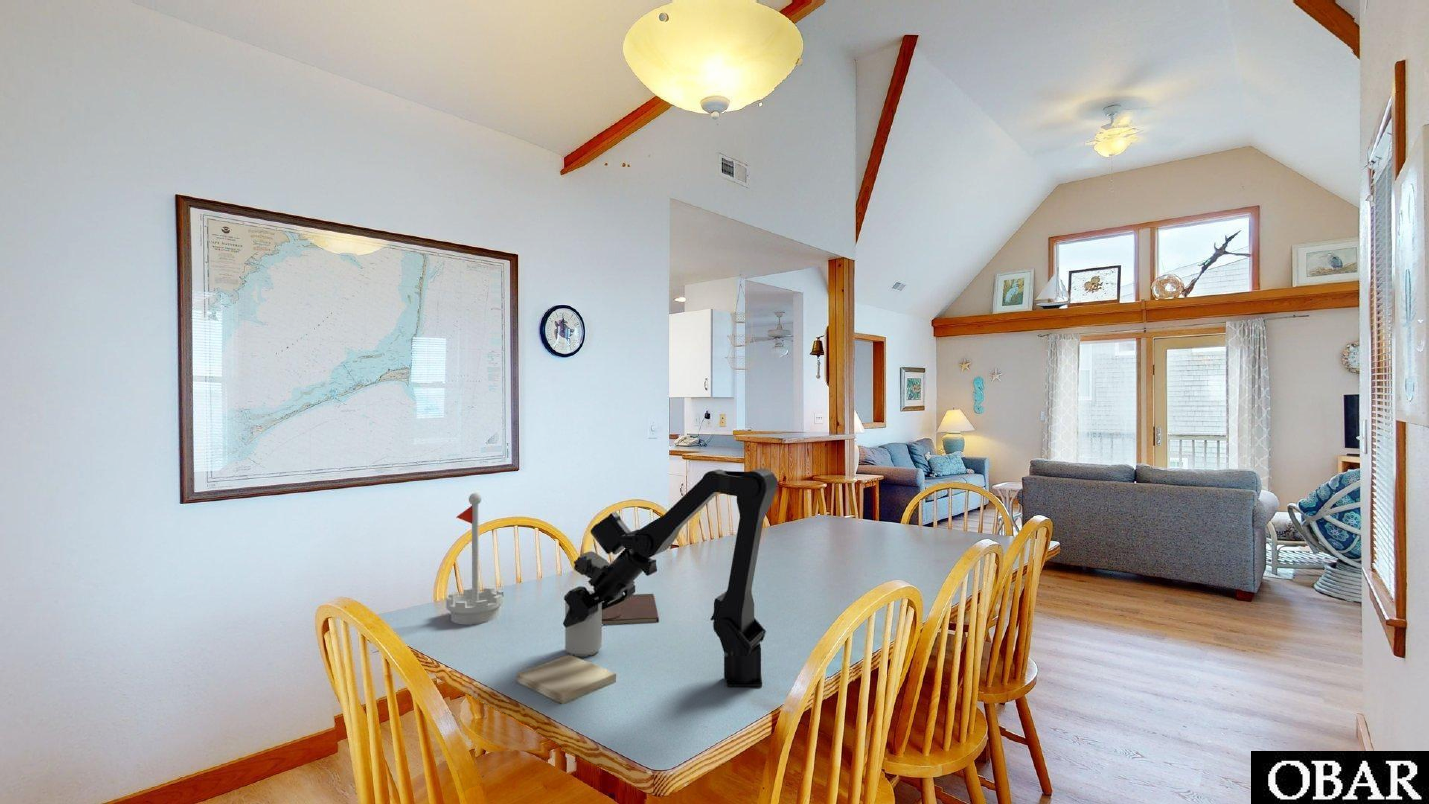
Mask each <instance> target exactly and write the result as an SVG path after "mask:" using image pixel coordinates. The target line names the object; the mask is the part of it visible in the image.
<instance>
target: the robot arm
mask: <svg viewBox="0 0 1429 804" xmlns="http://www.w3.org/2000/svg"><path fill="white" fill-rule="evenodd" d="M778 486H779V482H778V478H777V476H776V475H775V473H773V471H772V470H769V469H767V468H763V467H760V468H756V469H754V470H750V471H749V470H748V471H739V470H738V471H735V470H733V471H732V470H723V469H715V470H710V471H709V470H708V471H707V472H705V473H704V475H702V477H701V479H700V480H699V481H698V482H697V483H696V484H694V485H693V487H691V488H690V490H688V491H687V493H685V494H684V495H683V496H682V497H680V499H679V500H678V501H677V502H675V504H673V506H672V507H670V508H669V510H668V511H666V512H665V513H664V514H662V515H661V516H660V517H658V518H656V519H654V520H652V521H651V522H649V523H647V524H646V525H644V526H643V527H642V528H640V529H639V528H638V529H636V530H633V531H631V530H630V528H629V527H628V526H627V525H626V523H625V522H624V521H623V520H622V518H621V515H619V514H618V512H616V511H615V512H612V513H609V515H607V516H606V517H605V518H603V519H602V520H600V521H599V522H598V523H595V524H594V525H593V527H592V528H591V529H590V532H589V533H590V535H591V536H592V537H593V538H594V539H595V540H596V542H597V544H598V545H599V546H600V547H601V549H602V550H603V551H604V552H605V554H606V555H609V554H611V553H612V554H613V555H617V554H618V556H617V557H616V558H615V559H614V560H613V561H612V562H611V563H610V562H608V560H607V559H605V558H603V556H601V555H599V554H597V552H595V551H592V550H591V551H587V552H584V553H581V554H580V555H579V556H578V557H577V559H576V560H574V561H573V564H574V566H573V569H574V571H575V572H577V573H579V574H580V575H582V576H585V577H587V578H589V580H588V581H587V582H588V584H589V585H590V587H593V590H592V591H594V592H595V593H592V594H590V593H589V592H588V591H589V590H588V588H586V587H585V586H581V585H580V586H577V587H574V588H573V589H569V591H568V592H567V593H566V594H565V595H564V596H563V600H564V602H566V603H567V604H568V605H569V610H568V612H567V615H566V617H565V616H564V619H563V622H562V624H563V627H564V628H565V627H569V626H572V625H575V624H577V623H580V622H584V621H586V620H588V619H590V618H592V616H593V615H595V614H596V613H597V612H598V604H600V603H602V610H604V609H606V608H609V607H611V606H613V605H616V604H618V603H620V602H622V601H624V600H626V599H627V598H629V597H631V596H632V595H633V594H636V585H635V580H636V579H637V578H638V577H639V576H640V575H641V574H642V573H644V574H645V576H647V577H649V576H651V575H653V574H656V573H657V572H658V566H657V560H656V559H653V558H651V557H654V556H657V555H659V554H661V553H663V552H664V553H665V551H667V550H668V549H669V548H670V547H671V546H672V545H673V543H674V542H675V540H676V539H677V537H678V536H679V533H680V532H681V530H682V528H683V527H684V526H685V525H686V524H687V523H688V522H689V521H690V520H691V519H692V518H693V517H694V516H695V515H696V514H698V513H699V512H700V511H701V510H702V509H703V508H704V507H705V506H706V505H708V504H709V502H711V500H713V498H715V496H717V495H718V494H723V495H726V496H727V495H728V496H732V497H733V496H734V497H736V504H737V509H738V513H739V520H738V525H737V526H738V527H737V531H736V538H735V542H734V550H733V555H732V561H731V567H730V572H729V573H730V574H729V578H728V584H727V588H726V591H725V592H723V593H721V594H720V595H719V596H717V597H716V598H715V599H714V602H713V614H712V615H711V617H710V621H711V622H712V621H713V622H712V627H713V628H712V629H713V632H714V633H715V634H716V636H717V637H718V638H719V641H720V645H721V647H722V650H723V652H724V653H723V679H724V680H726V686H727V687H762V686H763V680H762V678H763V677H762V647H761V645H762V644H761V643H762V642H763V641H764V639H765V636H766V635H767V631H766V629H765V628H764V627H763V626H762V624H760V622H759V621H758V619H756V618H755V602H754V597H753V593H752V592H753V590H752V589H753V583H754V577H755V571H756V566H757V560H758V555H759V549H760V544H761V537H762V532H763V527H764V519H765V517H766V515H767V513H768V511H769V510H770V508H771V506H772V504H773V501H774V499H775V496H776V493H777V490H778Z"/></svg>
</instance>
